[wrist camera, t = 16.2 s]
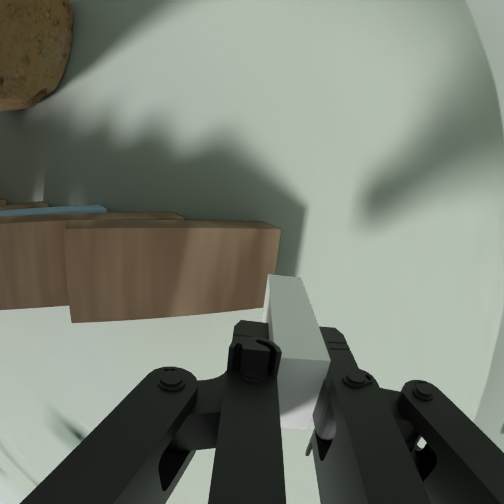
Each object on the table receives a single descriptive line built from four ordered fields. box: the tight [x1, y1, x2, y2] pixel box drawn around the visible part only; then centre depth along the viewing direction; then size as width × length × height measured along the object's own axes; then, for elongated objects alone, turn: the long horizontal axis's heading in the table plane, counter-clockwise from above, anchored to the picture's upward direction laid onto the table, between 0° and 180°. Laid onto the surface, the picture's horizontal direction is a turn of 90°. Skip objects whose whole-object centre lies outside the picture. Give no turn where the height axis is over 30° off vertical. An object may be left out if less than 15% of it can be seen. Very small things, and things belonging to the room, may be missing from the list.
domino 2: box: [0, 212, 184, 310], centre depth 17 cm, size 2×5×12 cm
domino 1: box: [64, 220, 281, 323], centre depth 17 cm, size 2×5×12 cm
